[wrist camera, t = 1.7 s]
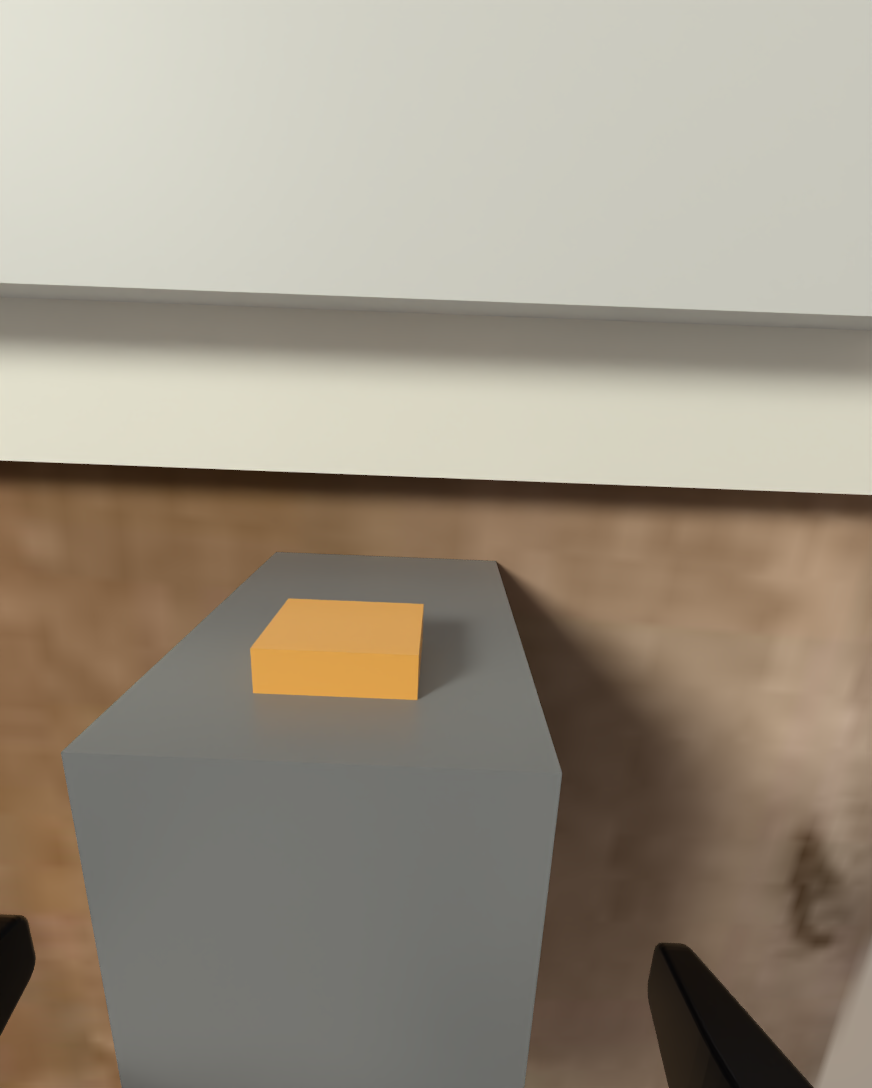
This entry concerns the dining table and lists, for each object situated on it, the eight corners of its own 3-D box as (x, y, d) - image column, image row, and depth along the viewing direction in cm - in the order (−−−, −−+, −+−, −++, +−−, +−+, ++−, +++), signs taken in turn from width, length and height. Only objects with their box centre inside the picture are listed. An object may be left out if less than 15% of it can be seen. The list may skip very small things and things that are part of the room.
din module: (475, 845, 14) (504, 1253, 7) (289, 837, 14) (149, 1237, 7) (497, 535, 12) (569, 720, 5) (274, 526, 12) (50, 700, 5)
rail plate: (849, 487, 11) (958, 511, 9) (-165, 446, 11) (-327, 460, 9) (1001, -117, 9) (1216, -313, 6) (-328, -163, 9) (-622, -375, 6)
